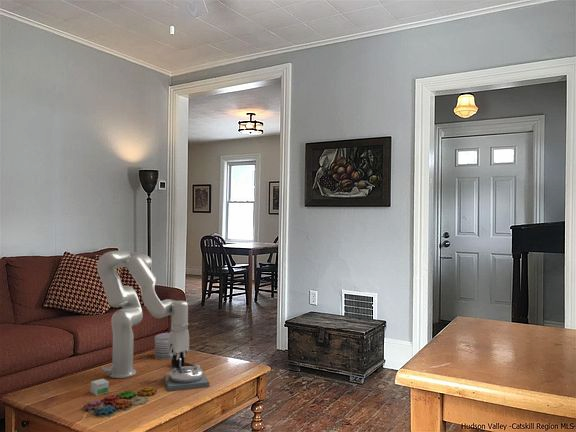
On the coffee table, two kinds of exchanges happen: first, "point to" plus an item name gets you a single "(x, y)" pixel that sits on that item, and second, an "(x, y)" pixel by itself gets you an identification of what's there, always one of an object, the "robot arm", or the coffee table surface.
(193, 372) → the silver disc
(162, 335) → the can
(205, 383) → the gray plinth
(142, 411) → the coffee table surface
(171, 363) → the hand tool
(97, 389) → the small box
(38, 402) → the coffee table surface
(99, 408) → the gear puzzle
